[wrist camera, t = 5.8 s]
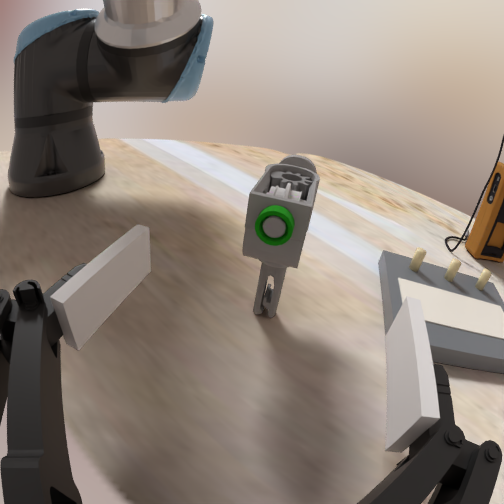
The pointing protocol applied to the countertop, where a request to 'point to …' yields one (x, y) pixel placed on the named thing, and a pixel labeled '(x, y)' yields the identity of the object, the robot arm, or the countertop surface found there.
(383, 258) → the board
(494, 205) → the multimeter
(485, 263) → the countertop surface
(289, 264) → the mechanical component
